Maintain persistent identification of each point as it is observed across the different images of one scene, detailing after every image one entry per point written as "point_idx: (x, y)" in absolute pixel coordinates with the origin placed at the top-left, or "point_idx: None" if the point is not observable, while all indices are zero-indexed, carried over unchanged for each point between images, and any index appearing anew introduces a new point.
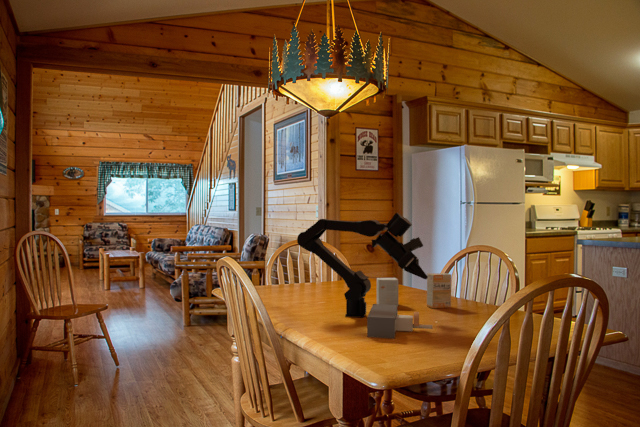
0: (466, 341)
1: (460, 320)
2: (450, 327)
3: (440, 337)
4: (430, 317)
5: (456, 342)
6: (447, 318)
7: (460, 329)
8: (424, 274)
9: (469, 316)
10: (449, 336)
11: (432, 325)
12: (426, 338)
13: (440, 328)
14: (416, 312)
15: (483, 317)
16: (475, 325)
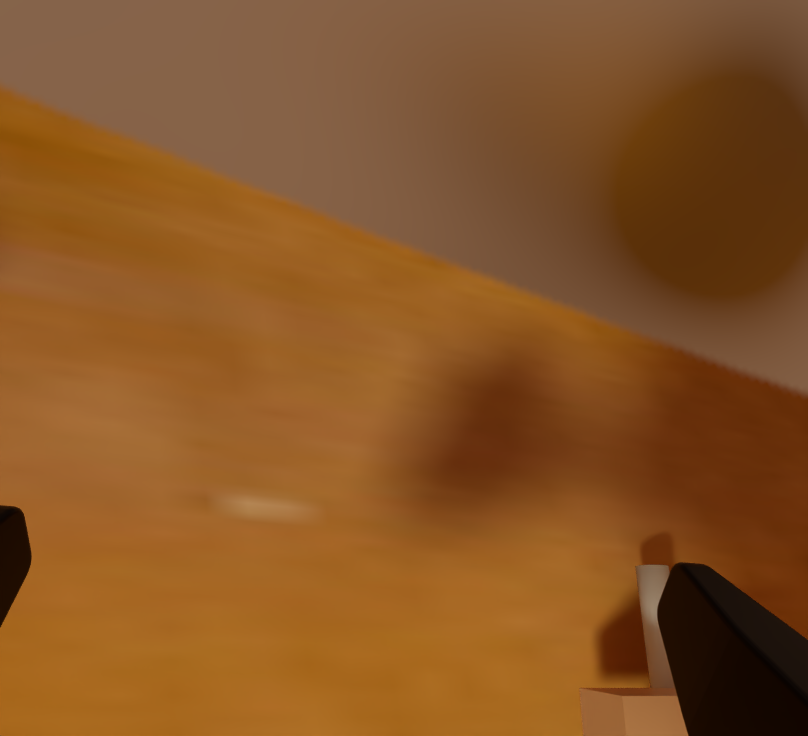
0: (758, 381)
1: (198, 300)
2: (451, 416)
3: (737, 524)
4: (79, 545)
5: (801, 440)
6: (123, 389)
7: (492, 358)
8: (774, 631)
9: (33, 200)
10: (692, 461)
11: (666, 565)
12: (798, 625)
13: (499, 496)
14: (651, 726)
15: (74, 117)
16: (354, 238)
